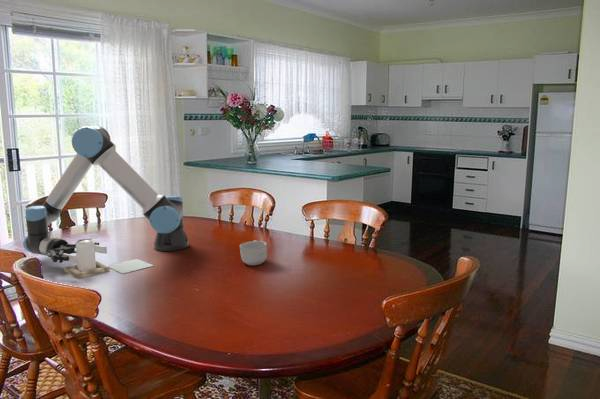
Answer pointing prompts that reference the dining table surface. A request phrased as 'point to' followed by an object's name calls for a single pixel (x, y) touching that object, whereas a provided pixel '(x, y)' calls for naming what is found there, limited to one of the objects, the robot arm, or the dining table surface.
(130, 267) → the mat
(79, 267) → the can
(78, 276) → the holder
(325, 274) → the dining table surface
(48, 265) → the dining table surface
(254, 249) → the teacup
